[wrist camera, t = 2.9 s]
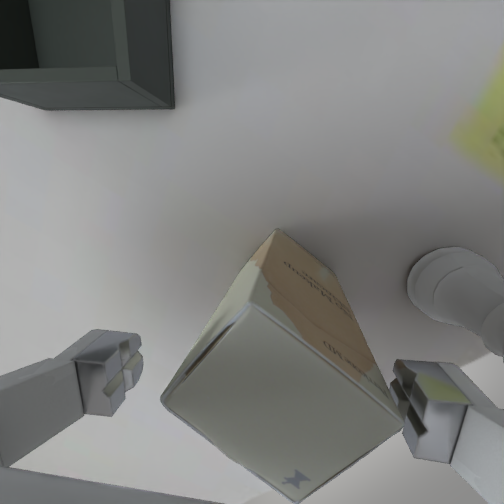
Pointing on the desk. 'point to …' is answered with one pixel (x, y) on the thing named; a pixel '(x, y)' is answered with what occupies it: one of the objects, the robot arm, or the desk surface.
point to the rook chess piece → (461, 293)
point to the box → (285, 375)
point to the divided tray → (86, 54)
